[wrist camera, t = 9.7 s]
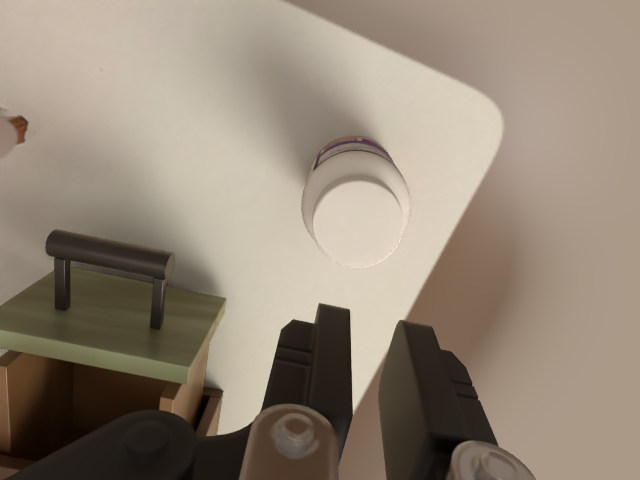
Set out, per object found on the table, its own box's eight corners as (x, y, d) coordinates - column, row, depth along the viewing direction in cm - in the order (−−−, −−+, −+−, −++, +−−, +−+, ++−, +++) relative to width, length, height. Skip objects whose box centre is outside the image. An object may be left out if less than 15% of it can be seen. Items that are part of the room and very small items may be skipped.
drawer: (61, 198, 29) (-35, 239, 22) (235, 233, 29) (199, 286, 22) (61, 419, 35) (-13, 510, 28) (205, 447, 35) (169, 544, 28)
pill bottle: (371, 232, 30) (384, 301, 20) (296, 198, 29) (275, 253, 20) (411, 157, 28) (444, 196, 19) (332, 119, 27) (326, 141, 18)
